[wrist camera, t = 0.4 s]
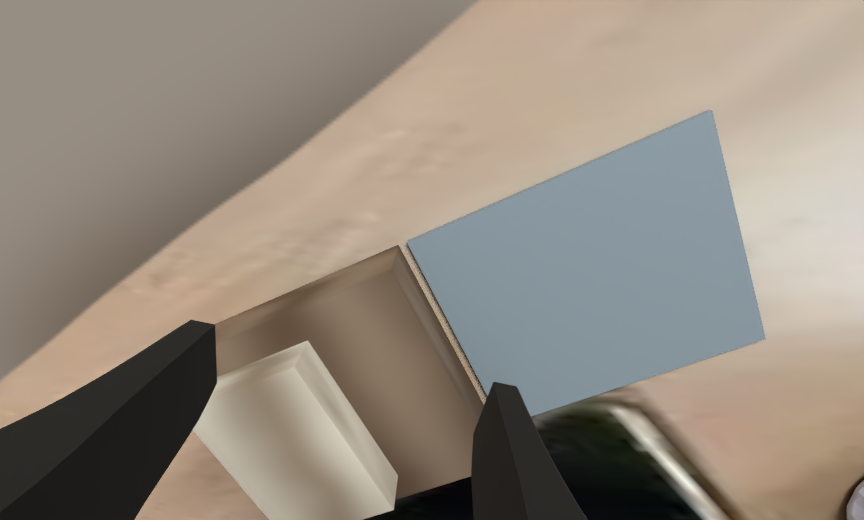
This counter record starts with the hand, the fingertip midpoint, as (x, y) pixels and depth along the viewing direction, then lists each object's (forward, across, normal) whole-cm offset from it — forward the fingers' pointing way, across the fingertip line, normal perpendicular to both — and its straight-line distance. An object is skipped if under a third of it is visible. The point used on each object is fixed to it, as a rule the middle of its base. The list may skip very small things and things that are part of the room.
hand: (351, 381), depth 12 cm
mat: (+11, -10, +2) cm, 15 cm away
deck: (+10, +1, +10) cm, 14 cm away
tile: (+7, +2, +11) cm, 13 cm away
